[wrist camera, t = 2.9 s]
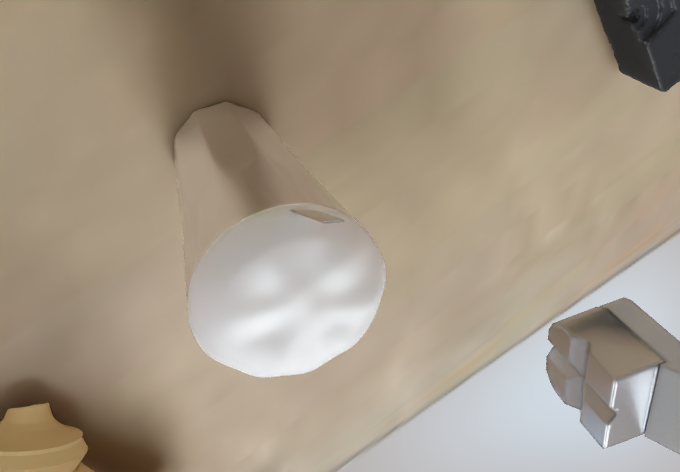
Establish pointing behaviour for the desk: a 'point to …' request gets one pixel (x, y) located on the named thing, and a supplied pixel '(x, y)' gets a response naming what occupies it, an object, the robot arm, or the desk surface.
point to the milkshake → (267, 250)
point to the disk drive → (644, 39)
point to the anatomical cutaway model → (39, 442)
